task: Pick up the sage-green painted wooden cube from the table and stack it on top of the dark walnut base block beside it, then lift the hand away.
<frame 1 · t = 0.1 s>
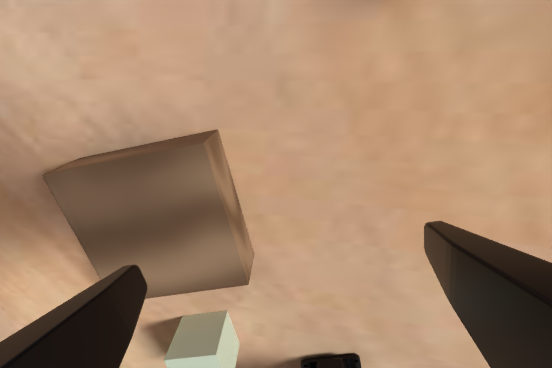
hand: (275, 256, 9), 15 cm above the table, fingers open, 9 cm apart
sage cube: (211, 329, 31), on the table
walnut base: (172, 208, 25), on the table
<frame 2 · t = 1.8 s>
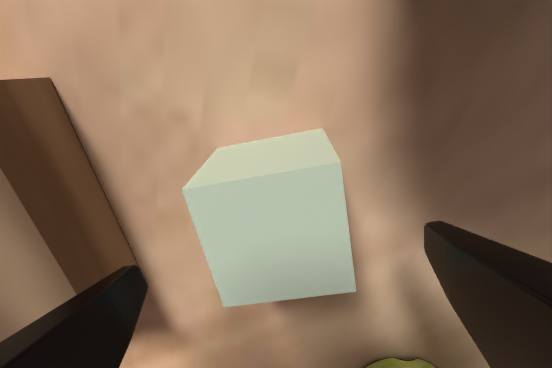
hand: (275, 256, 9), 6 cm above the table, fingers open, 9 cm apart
sage cube: (279, 185, 14), on the table
walnut base: (6, 215, 15), on the table
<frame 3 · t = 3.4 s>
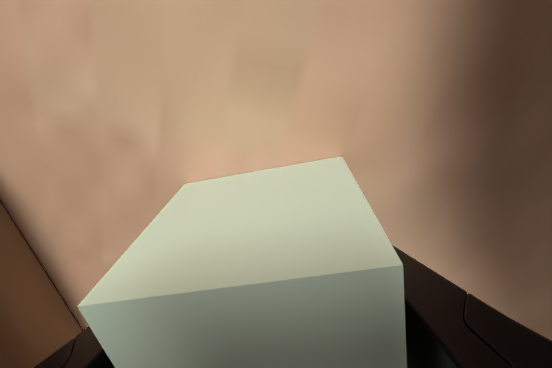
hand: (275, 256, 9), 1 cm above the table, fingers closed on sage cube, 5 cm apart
sage cube: (276, 237, 10), on the table, touching gripper
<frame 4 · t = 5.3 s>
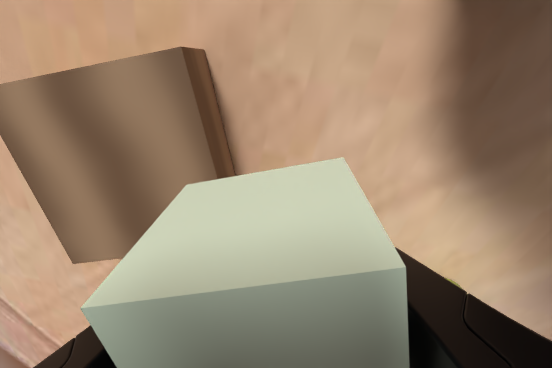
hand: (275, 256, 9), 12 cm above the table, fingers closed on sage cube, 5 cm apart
sage cube: (278, 238, 10), point 11 cm above the table, touching gripper
walnut base: (148, 154, 21), on the table
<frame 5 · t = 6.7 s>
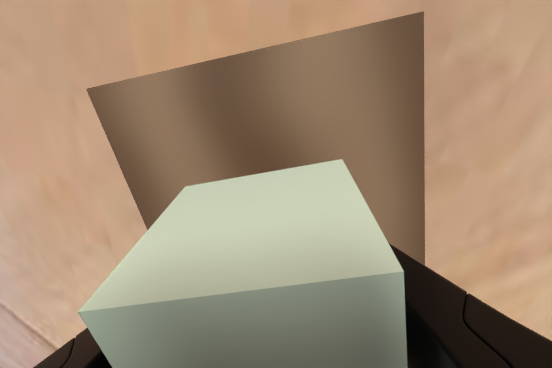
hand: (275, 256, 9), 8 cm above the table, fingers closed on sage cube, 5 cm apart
sage cube: (277, 240, 10), point 6 cm above the table, touching gripper
walnut base: (280, 172, 16), on the table
when the fingers open (6 cm above the table, at t = 7.7 s): sage cube drops 1 cm, resting on walnut base.
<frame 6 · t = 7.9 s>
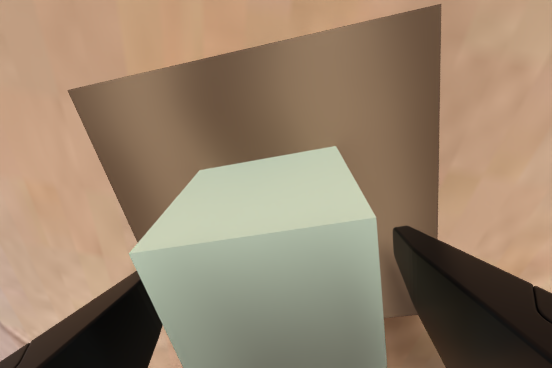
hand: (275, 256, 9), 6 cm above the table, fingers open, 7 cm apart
sage cube: (279, 218, 11), point 4 cm above the table, touching walnut base
walnut base: (280, 178, 15), on the table
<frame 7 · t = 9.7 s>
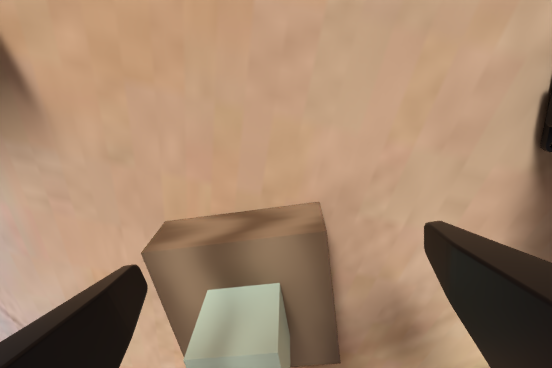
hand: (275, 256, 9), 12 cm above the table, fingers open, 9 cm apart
sage cube: (250, 313, 20), point 4 cm above the table, touching walnut base
walnut base: (254, 274, 24), on the table
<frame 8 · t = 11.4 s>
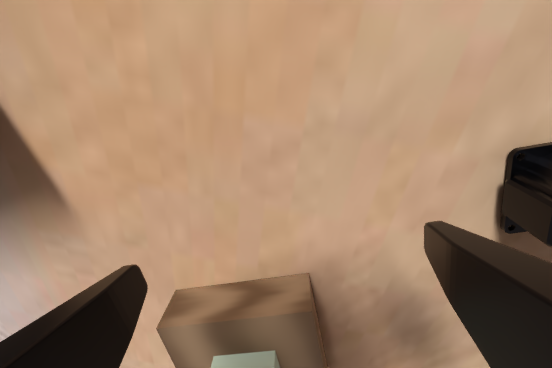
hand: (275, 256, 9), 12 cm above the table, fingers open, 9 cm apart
walnut base: (255, 331, 27), on the table
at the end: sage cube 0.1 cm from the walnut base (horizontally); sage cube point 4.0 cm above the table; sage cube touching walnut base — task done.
